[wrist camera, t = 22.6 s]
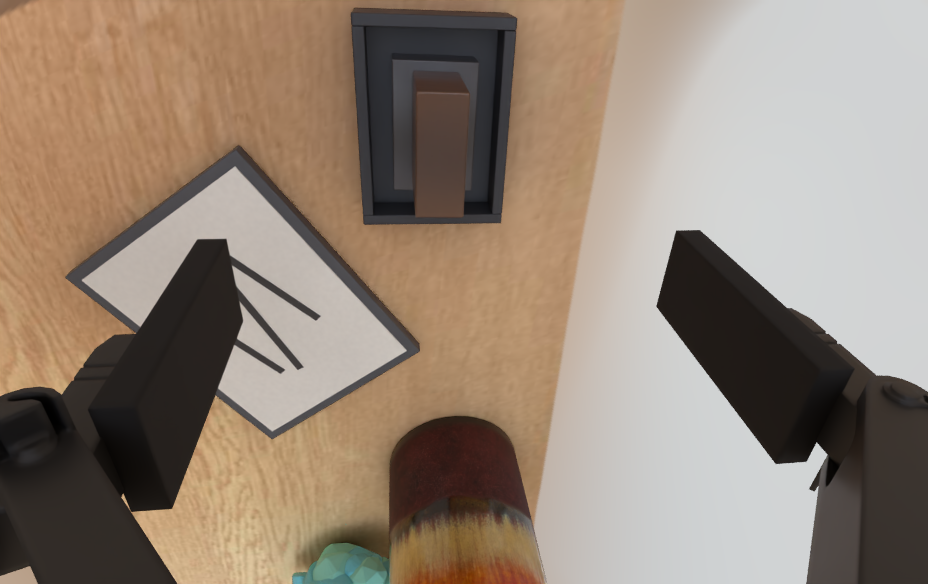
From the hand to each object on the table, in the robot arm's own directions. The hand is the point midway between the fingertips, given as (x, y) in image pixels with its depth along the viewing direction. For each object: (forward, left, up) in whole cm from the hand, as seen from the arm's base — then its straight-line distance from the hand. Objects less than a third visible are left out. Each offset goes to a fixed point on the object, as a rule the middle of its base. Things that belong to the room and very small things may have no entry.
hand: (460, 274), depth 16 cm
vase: (+25, -15, -19) cm, 35 cm away
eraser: (0, 0, -18) cm, 18 cm away
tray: (0, 0, -19) cm, 19 cm away
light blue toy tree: (+31, -29, -19) cm, 46 cm away
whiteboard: (+4, -17, -19) cm, 25 cm away
